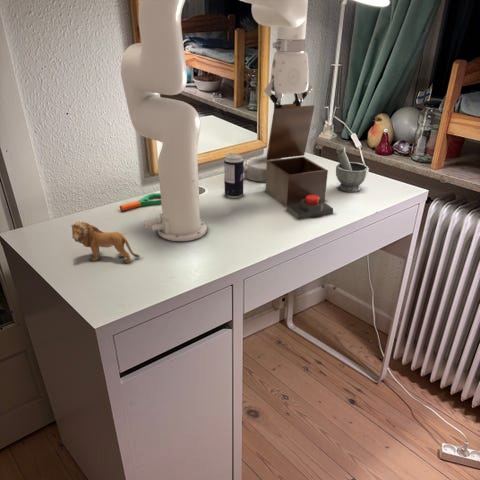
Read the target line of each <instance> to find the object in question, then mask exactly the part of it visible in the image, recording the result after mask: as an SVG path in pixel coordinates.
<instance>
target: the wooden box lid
mask: <svg viewBox="0 0 480 480" xmlns="http://www.w3.org/2000/svg"><path fill="white" fill-rule="evenodd" d="M281 105H282V108H275V109H274V108H273V113H272V119H271V126H270V132H269V139H268V145H267V151H266V156H267V157H266V159H267V160H271V159H279V158H282V159H287V158H295V157H303V156H304V157H305V154H306V149H307V146H308V145H307V144H308V141H309V135H310V132H311V131H310V130H311V127H312V121H313V117H314V113H315V109H316V105H314V104H313V105H311V104H309V105H301V106H298V107H296V104H293V103H284V104H281Z"/></svg>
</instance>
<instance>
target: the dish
mask: <svg viewBox="0 0 480 480" xmlns="http://www.w3.org/2000/svg"><path fill="white" fill-rule="evenodd" d="M266 157H267V155H266V156H265V155H264V156H257V157H251V158H249V159H248V160H246V161H245V164H244V178H246V179H248V180H251V181H255V182H258V183H259V182H260V183H261V182H262V183H266V166H267V161H270V160H267V159H266ZM279 159H283V158H279ZM279 159H271V160H279Z"/></svg>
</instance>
